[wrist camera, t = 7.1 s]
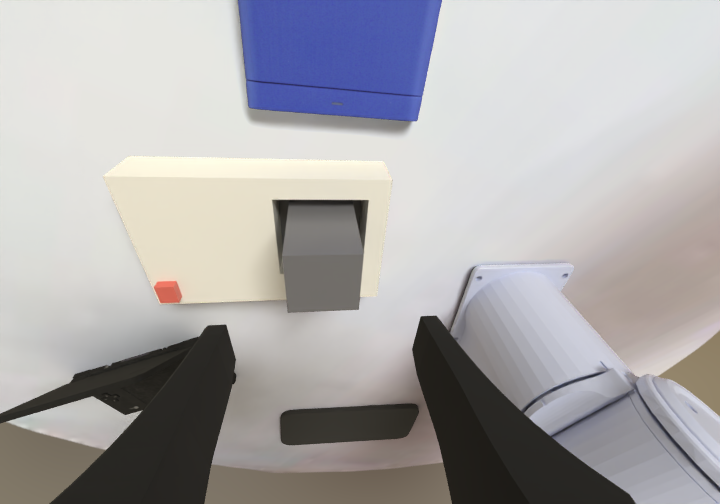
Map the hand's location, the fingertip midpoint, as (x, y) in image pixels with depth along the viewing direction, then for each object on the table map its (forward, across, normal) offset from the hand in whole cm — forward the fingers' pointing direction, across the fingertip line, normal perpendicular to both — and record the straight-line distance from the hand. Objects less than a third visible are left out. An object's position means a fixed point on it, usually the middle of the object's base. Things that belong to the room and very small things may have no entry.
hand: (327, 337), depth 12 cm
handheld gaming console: (+10, +14, +14) cm, 22 cm away
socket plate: (+9, +3, 0) cm, 10 cm away
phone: (+10, -3, +27) cm, 29 cm away
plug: (+9, 0, 0) cm, 9 cm away
